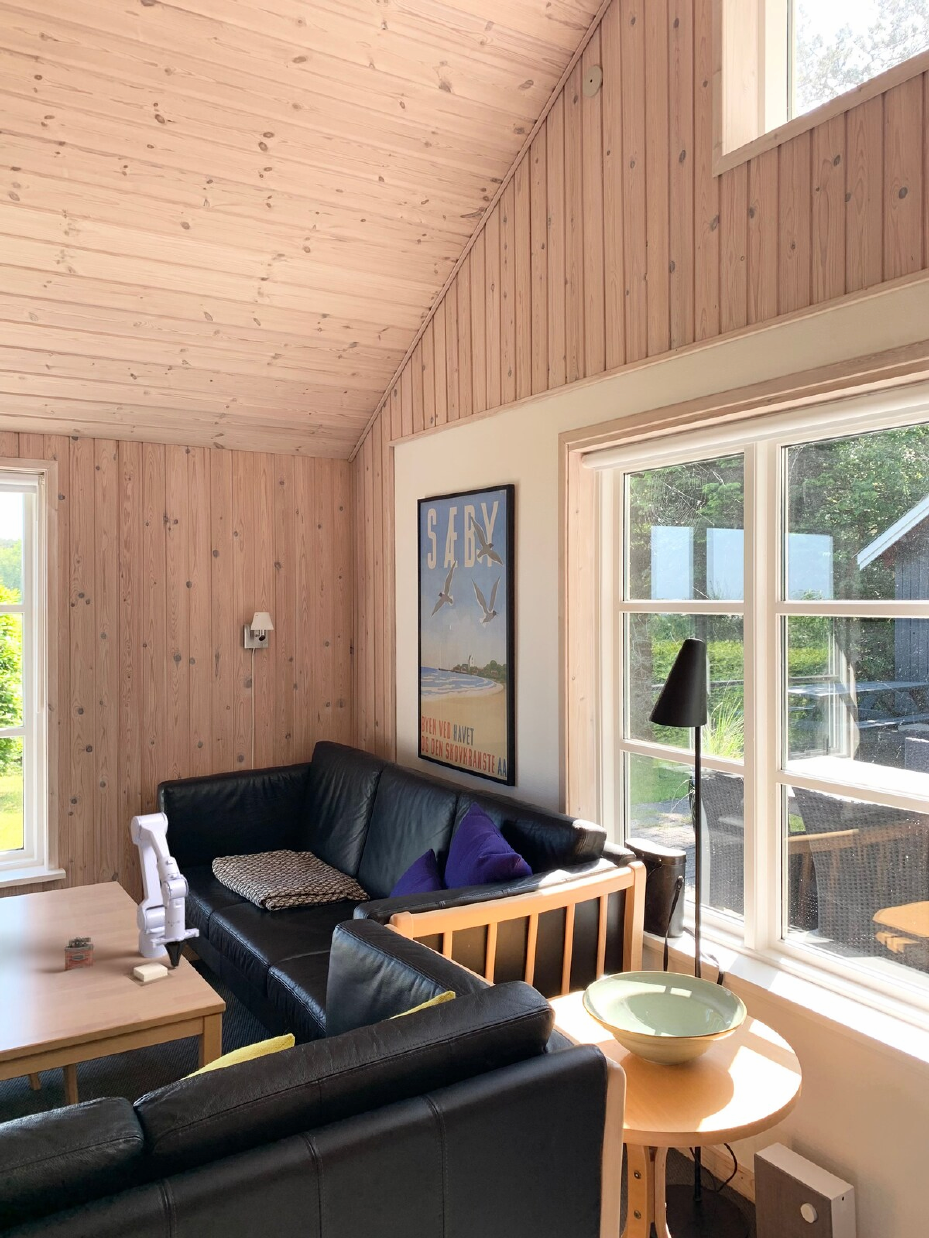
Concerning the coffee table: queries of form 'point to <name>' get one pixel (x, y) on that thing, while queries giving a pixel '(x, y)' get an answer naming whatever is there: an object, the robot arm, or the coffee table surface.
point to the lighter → (78, 953)
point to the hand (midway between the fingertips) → (174, 965)
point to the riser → (142, 983)
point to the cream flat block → (150, 971)
